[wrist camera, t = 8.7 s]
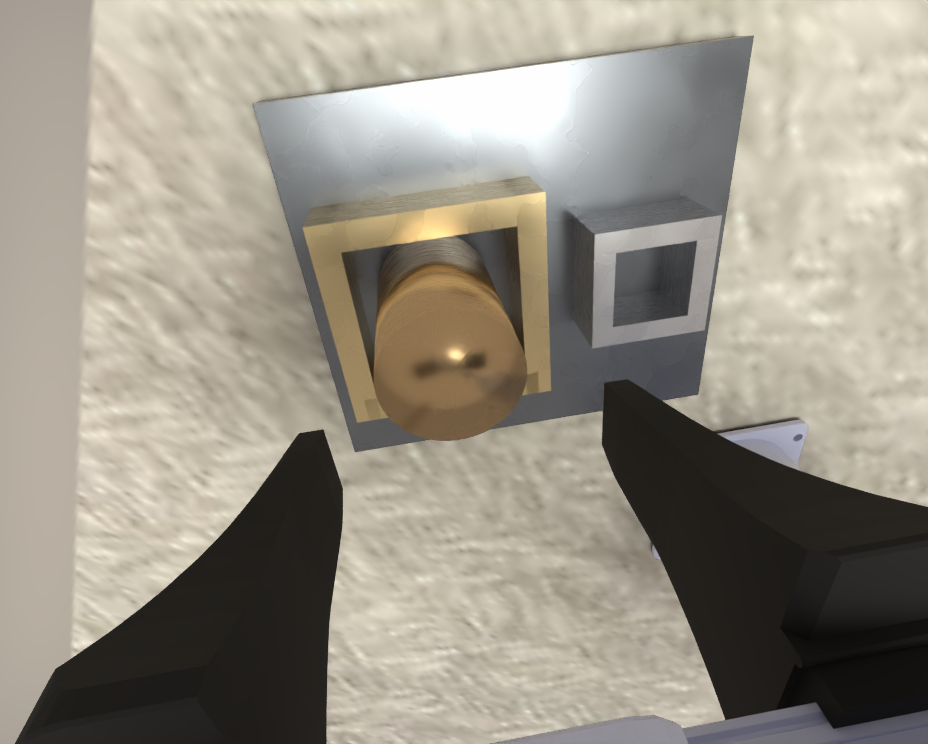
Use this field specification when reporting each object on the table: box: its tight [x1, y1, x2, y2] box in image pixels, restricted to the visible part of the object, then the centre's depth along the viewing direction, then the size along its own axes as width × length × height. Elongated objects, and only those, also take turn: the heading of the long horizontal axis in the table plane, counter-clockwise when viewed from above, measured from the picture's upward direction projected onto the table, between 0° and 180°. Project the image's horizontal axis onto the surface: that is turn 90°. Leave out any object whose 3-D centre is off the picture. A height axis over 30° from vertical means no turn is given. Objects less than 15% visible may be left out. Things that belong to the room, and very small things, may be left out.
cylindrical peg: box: [373, 236, 527, 441], centre depth 18 cm, size 4×4×7 cm
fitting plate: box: [253, 36, 754, 452], centre depth 21 cm, size 15×17×4 cm
